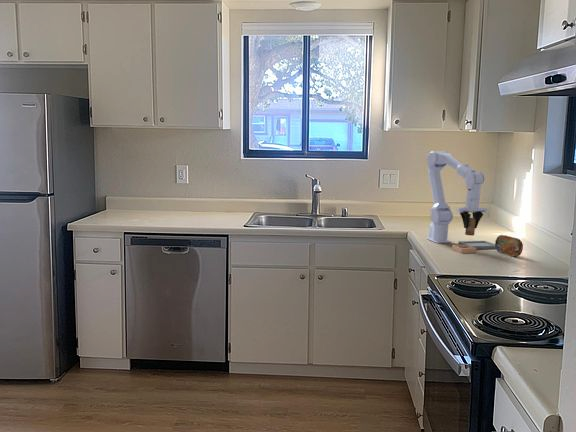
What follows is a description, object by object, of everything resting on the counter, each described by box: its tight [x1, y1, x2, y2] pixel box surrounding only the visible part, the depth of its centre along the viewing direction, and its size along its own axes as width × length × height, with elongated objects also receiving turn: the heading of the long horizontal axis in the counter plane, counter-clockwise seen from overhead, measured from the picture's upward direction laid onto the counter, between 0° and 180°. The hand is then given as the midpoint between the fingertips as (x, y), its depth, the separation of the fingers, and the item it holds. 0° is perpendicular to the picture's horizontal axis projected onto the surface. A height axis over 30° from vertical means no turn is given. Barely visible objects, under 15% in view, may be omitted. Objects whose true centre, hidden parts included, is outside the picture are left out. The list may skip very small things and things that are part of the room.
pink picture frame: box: [451, 244, 477, 254], centre depth 260 cm, size 8×8×2 cm
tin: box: [494, 234, 524, 257], centre depth 256 cm, size 15×3×8 cm, turn 21°
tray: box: [457, 240, 496, 250], centre depth 272 cm, size 11×15×2 cm
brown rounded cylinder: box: [464, 217, 476, 236], centre depth 262 cm, size 4×4×8 cm
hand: (470, 227), depth 262 cm, fingers closed on brown rounded cylinder, 4 cm apart
